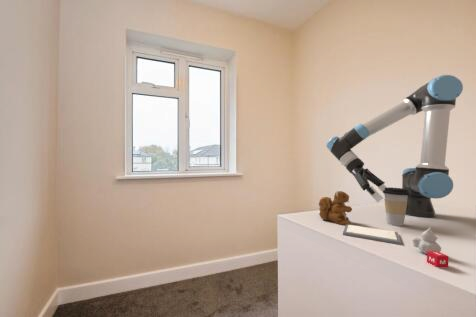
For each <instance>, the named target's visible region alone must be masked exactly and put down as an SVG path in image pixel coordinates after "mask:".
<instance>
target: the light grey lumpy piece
mask: <svg viewBox="0 0 476 317" xmlns="http://www.w3.org/2000/svg"><path fill="white" fill-rule="evenodd" d="M420 237H421V238H419V237H412V238H411V240H412V246H413V247H414V248H418V249H419V250H420V252H422V253H423V254H425V255H427V251H438V252H440V253H441V252H442V246H441V245H440V244H439V243H437V240H438V237H437V236H436V235H435V233H434V231H432V227H431V226H429V228H428V229H426V230H424V231H423V232H422V233H421V235H420Z"/></svg>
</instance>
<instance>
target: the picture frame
mask: <svg viewBox="0 0 476 317" xmlns="http://www.w3.org/2000/svg"><path fill="white" fill-rule="evenodd" d="M344 226H345V227H344V229H343V232H342V235H343V236H348V237H354V238H359V239H366V240H371V241H376V242H377V241H378V242H382V243H383V242H384V243H387V244H396V245H400V246H401V245H402V241H401V237H400V235H399V233H398V232H397V231H394V230H393V231H392V230H386V229H379V228H373V227H367V226H362V225H361V226H360V225H354V224H349V225H347V224H346V225H344Z"/></svg>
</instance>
